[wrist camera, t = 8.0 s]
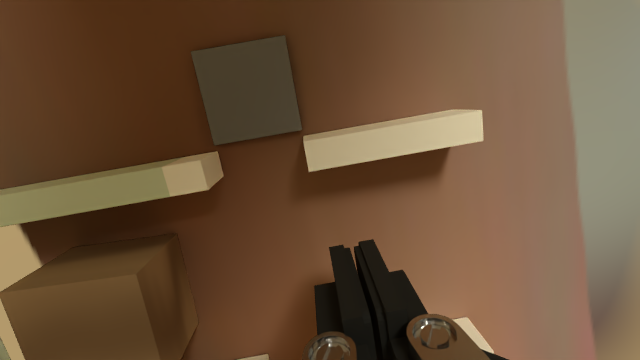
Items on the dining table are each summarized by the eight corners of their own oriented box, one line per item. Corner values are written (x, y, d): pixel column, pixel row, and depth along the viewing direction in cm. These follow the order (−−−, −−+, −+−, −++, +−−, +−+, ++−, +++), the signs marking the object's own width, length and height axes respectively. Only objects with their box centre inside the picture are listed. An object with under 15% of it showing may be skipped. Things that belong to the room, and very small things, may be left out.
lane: (-92, 205, 14) (-172, 226, 12) (452, 109, 15) (481, 110, 12) (15, 419, 17) (-32, 470, 15) (468, 335, 18) (495, 372, 15)
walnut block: (75, 246, 15) (-2, 293, 12) (178, 232, 16) (136, 274, 12) (104, 333, 17) (42, 403, 13) (199, 320, 17) (168, 385, 13)
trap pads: (193, 52, 14) (190, 51, 13) (285, 36, 14) (284, 35, 13) (287, 432, 18) (287, 437, 18) (355, 419, 18) (356, 424, 18)
